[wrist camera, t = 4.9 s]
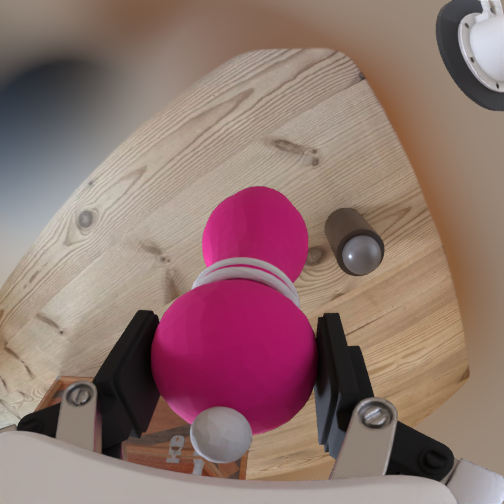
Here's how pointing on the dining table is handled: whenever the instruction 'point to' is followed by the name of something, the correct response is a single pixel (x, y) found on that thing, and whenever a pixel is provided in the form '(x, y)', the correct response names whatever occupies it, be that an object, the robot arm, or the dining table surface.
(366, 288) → the dining table surface
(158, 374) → the pepper mill
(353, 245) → the salt shaker
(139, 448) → the wooden box
